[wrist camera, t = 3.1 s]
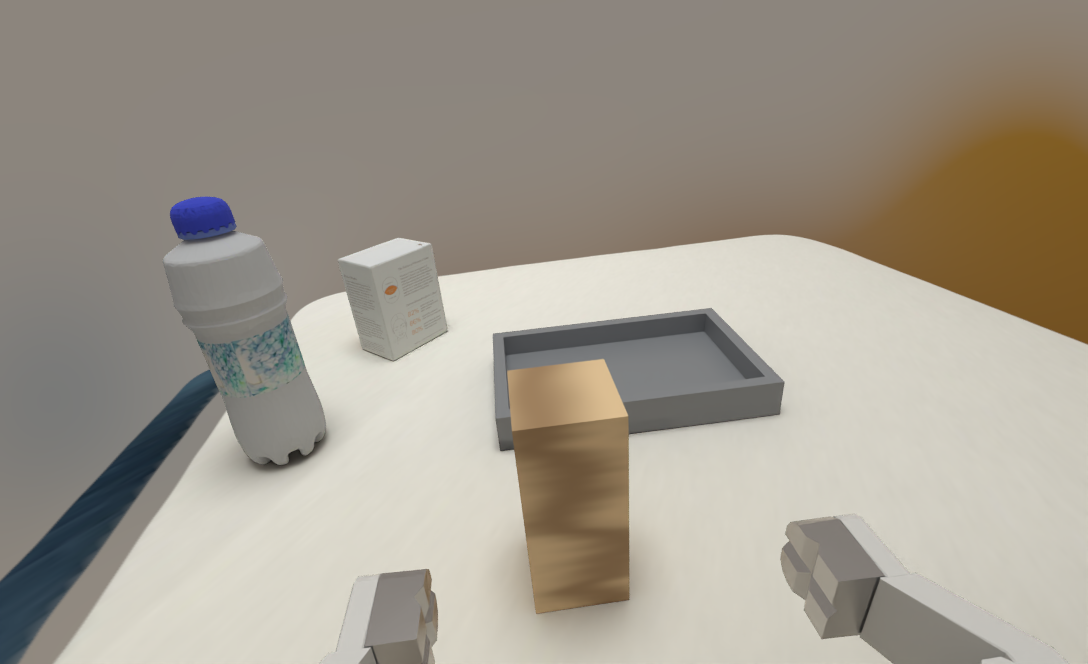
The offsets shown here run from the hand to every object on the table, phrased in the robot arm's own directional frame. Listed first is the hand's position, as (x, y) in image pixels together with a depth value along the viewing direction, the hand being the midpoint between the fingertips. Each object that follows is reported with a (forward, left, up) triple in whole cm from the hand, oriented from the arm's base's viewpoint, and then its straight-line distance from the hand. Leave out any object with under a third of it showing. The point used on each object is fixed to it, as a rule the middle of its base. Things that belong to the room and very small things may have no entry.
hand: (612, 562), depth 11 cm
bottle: (+21, -27, -16) cm, 38 cm away
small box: (+14, -44, -16) cm, 49 cm away
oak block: (0, -12, -15) cm, 20 cm away
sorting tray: (-7, -30, -15) cm, 35 cm away
